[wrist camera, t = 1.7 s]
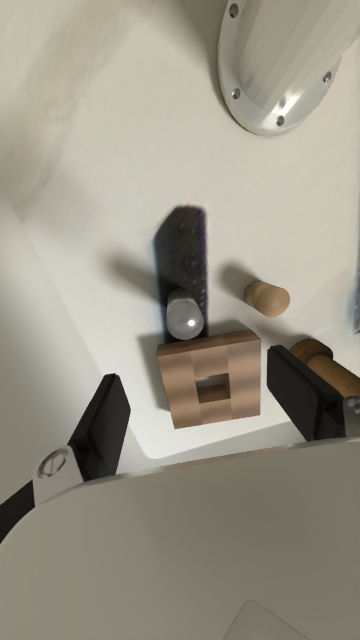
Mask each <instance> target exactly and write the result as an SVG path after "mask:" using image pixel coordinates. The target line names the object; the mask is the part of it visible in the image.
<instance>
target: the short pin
mask: <svg viewBox="0 0 360 640" xmlns="http://www.w3.org/2000/svg"><path fill="white" fill-rule="evenodd" d="M244 299H245V301H246V303H247V304H248V305H250V306H251V307H253V308H254V309H256V310H257V311H259V312H260V313H262V314H264V315H265V316H267V317H276V316H279V315H280V314H282V313H283V312H284V311H285V310H286V309H287V307H288V305H289V302H290V296H289V293H288V292H287V291H286V290H285V289H283V288H280V287H277V286H274V285H271V284H267V283H264V282H261V281H257V282H254V283H252V284H250V285H249V286H248V287H247V289H246V290H245V293H244Z"/></svg>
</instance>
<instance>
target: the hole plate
mask: <svg viewBox="0 0 360 640" xmlns="http://www.w3.org/2000/svg"><path fill="white" fill-rule="evenodd" d="M157 360H158V364H159V368H160V372H161V376H162V380H163V384H164V388H165V392H166V396H167V400H168V404H169V408H170V412H171V416H172V420H173V424H174V428H175V429H179V428H185V427H191V426H197V425H203V424H209V423H215V422H221V421H227V420H233V419H239V418H245V417H251V416H257V415H260V380H261V339H260V338H259V337H258V336H257V335H256V334H255V333H254V332H253V331H252V330H246V331H240V332H234V333H228V334H222V335H216V336H210V337H204V338H199V339H193V340H187V341H181V342H175V343H169V344H163V345H158V350H157ZM218 374H224V380H225V384H224V385H218V386H212V387H206V388H200V389H197V388H196V382H195V378H200V377H206V376H212V375H218Z"/></svg>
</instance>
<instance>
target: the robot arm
mask: <svg viewBox="0 0 360 640" xmlns="http://www.w3.org/2000/svg"><path fill="white" fill-rule="evenodd" d="M359 36H360V0H228V2H227V5H226V9H225V13H224V16H223V20H222V25H221V30H220V35H219V40H218V54H217V64H218V77H219V82H220V87H221V91H222V94H223V97H224V100H225V103H226V105H227V107H228V108H229V110H230V112H231V114H232V115H233V117H234V118H235V119H236V120H237V121H238V123H239V124H240V125H242V126H243V127H244V128H246V129H247V130H248V131H250V132H253V133H255V134H257V135H263V136H273V135H279V134H282V133H285V132H287V131H289V130H291V129H293V128H294V127H296V126H297V125H299V124H300V123H301V122H302V121H303V120H304V119H305V118H306V117H308V116H309V114H310V113H311V112H312V111H313V110H314V109H315V108H316V107H317V106H318V105H319V103H320V102H321V100H322V99H323V98H324V96H325V95H326V93H327V91H328V90H329V88H330V86H331V84H332V82H333V80H334V78H335V75H336V72H337V70H338V67H339V65H340V62H341V58H342V55H343V54H344V53H345V52H346V50H347V49H348V48H349V47H350V46H351V45H352V44H353V43H354V41H355V40H356V39H357V38H358V37H359ZM234 98H235V99H234ZM267 387H268V389H269V390H270V392H271V393H272V395H273V396H274V397H275V399H276V400H277V401H278V403H279V404H280V405H281V407H282V408H283V410H284V411H285V412H286V414H287V415H288V416H289V418H290V419H291V420H292V422H293V423H294V425H295V426H296V427H297V428H298V430H299V431H300V433H301V434H302V435H303V437H304V438H305V439H306V441H307V442H303V443H297V444H290V445H284V446H278V447H272V448H266V449H259V450H253V451H247V452H241V453H235V454H230V455H224V456H218V457H212V458H206V459H200V460H194V461H189V462H183V463H177V464H172V465H166V466H160V467H155V468H149V469H144V470H138V471H132V472H128V473H122V474H117V475H115V474H116V470H117V466H118V462H119V458H120V454H121V450H122V446H123V441H124V437H125V433H126V429H127V425H128V421H129V417H130V412H131V409H130V405H129V402H128V399H127V397H126V394H125V391H124V388H123V385H122V383H121V380H120V377H119V375H116V374H115V373H113V374H107V375H105V376H104V377H103V379H102V381H101V383H100V385H99V387H98V389H97V391H96V393H95V394H94V396H93V398H92V400H91V401H90V403H89V405H88V407H87V408H86V410H85V412H84V414H83V416H82V418H81V419H80V421H79V424H78V425H77V427H76V429H75V431H74V433H73V435H72V436H71V438H70V440H69V442H68V444H67V445H61V446H59V447H56V448H54V449H53V450H51V451H50V452H48V453H47V454H46V455H45V456H44V457H43V458H42V459H41V460H40V461H39V463H38V464H37V466H36V467H35V470H34V472H33V479H32V480H31V481H30V482H29V483H27V484H26V485H25V486H24V487H22V488H21V489H20V490H19V491H18V492H17V493H15V494H14V495H12V496H11V497H10V498H9V499H7V500H6V501H5V502H4V503H2V504H1V505H0V640H360V396H348V397H346V398H345V397H344V396H342V395H341V394H340V392H339V391H338V390H336V389H335V388H334V387H333V386H331V385H330V384H329V383H328V382H327V381H325V380H324V379H323V378H322V377H320V376H319V375H318V374H317V373H315V372H314V371H313V370H312V369H311V368H309V367H308V366H307V365H306V364H304V363H303V362H302V361H301V360H299V359H298V358H297V357H296V356H295V355H293V354H292V353H291V352H290V351H288V350H287V349H286V348H285V347H283V346H282V345H275V346H271V347H270V349H268V351H267Z"/></svg>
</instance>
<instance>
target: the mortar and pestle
mask: <svg viewBox="0 0 360 640" xmlns="http://www.w3.org/2000/svg"><path fill="white" fill-rule="evenodd" d="M290 352H291V353H292V354H293V355H295V356H296V357H297V358H298V359H299V360H301V361H302V362H303V363H304V364H306V365H307V366H308V367H309V368H311V369H312V370H313V371H314V372H315V373H317V374H318V375H319V376H320V377H322V378H323V379H324V380H325V381H327V382H328V383H329V384H330V385H331V386H333V387H334V388H335V389H336V390H338V391H339V392H340V394H341V395H342V396H344V397H345V398H346V397H348V396H360V378H359V377H358V376H356V375H355V374H353V373H352V372H350V371H349V370H347V369H346V368H344V367H343V366H341V365H340V364H338V363H337V362H336V361H334V360H333V352H332V350H331V349H330V348H329V347H327V346H326V345H324V344H323V343H321V342H319V341H317V340H313V339H308V340H304V341H301V342H299V343H297V344H296V345H295V346H294V347H293V348H292V349H291V350H290Z"/></svg>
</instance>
